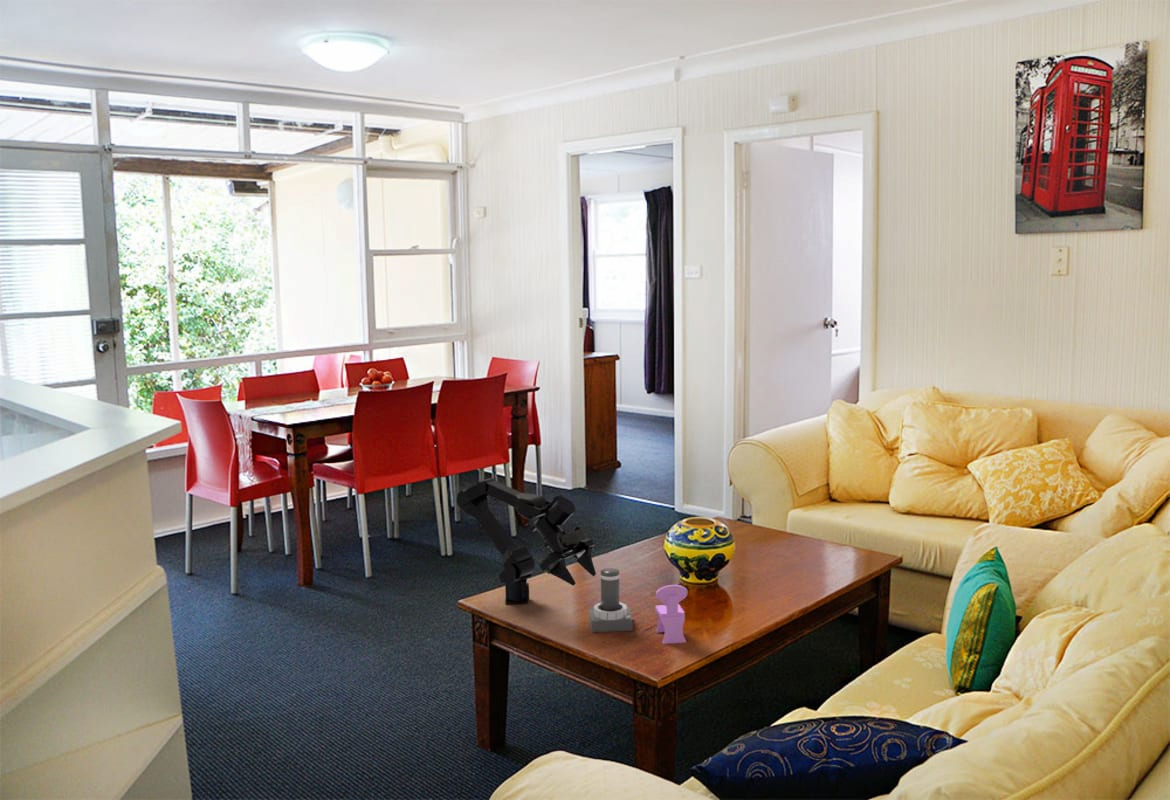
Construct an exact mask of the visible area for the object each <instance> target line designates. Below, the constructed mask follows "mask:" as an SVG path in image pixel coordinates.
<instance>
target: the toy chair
mask: <svg viewBox="0 0 1170 800" xmlns="http://www.w3.org/2000/svg"><path fill="white" fill-rule="evenodd" d="M655 595H656V596H655V597H656V599H657V600H658V601H659V602H661V603H663V604H662V605H660V604H659V605H655V609H654V610H655V613H656V615H657V619H658V622H657V625H656V626H657V627H656V630H655V633H656V634H658V633H664V635H663V640H662V645H668V644H681V643H682V644H684V643H687V640H686V638H685V635H684V631H683V627H684V623H685V619H686V615H685V613H686V612H685V611H684V609H683V608H682V606H681V605H680V604H679V603H680V602H681V601H683V600H684V599H685V598H686V597H687V596H688V589H687V588H686V587H685V586H683V585H680V584H668V585H665V586H662V587H659V589H657V590H656V592H655Z"/></svg>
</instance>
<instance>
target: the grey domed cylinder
mask: <svg viewBox="0 0 1170 800" xmlns="http://www.w3.org/2000/svg"><path fill="white" fill-rule="evenodd" d="M620 574H621V573H620V570H619V569H616V568H614V567H613V568H603V569H601V570H600V577H599V578H600V603H601V610H603V611H617V610H620V607H619V602H620Z"/></svg>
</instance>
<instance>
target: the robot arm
mask: <svg viewBox="0 0 1170 800" xmlns="http://www.w3.org/2000/svg"><path fill="white" fill-rule="evenodd" d="M456 496H457V497H456V504H457V506H458V507H459V508H460V509H461V510H462V512H463V513H464V514H466V515H468V516H469V517H471V518H474V519H475V521H476V522H477V523H478V525H479V526H480V527H481V529H482V530H483V531H484V533H485V534H486V536H487V537H488V538H489V540H490V541H491V543H492V544H493V545H494V547H495V548H496V550H498V552H499V554H500V555H501V559H502V567H503V568H504V569H503V570H502V572H500V574H499V575H498V579H499V582H500V583H501V584H504V585H505V600H504V603H505V605H511V604H512V605H513V604H514V605H515V604H528V603H529V600H530V583H529V582H528V579H530V578H532V576H533V573H534V571H535V567H536V566H535V565H536V562H535V559H534V558H533V557H534V555H533V554H531V552H530V551H529V550H528V548H527V547H526V546H525V545H523V546H520V547H519V546H517V545H516V544H515V543H514V541H513V540H512V539H511V537H510V536H509V534H508V533H507V532H506V529H504V527H503V526H502V525H501V524H500V522H499V521H498V519H497V518H496V516H495V515H494V514H493V513H492V511H491V510H490V508H489V498H488V497H492V498H493V499H496V500H498V501H500V502H502V503H503V504H506V505H508V506H510V507H513V508H514V509H515V511H516V513H517V514H518V515H520V516H521V517H523V518H524V519H526V520H532V519H535V518H537V519H536V520H534V521H531V523H530V524H531V525H530V532H535V531H537V532H538V533H539V534H540V536H541V537H542V539H543V540H544V542H545V544H544V545H543V546H544V547H545V549H547V548H549V549H550V550H551V553H548V554H547V555H546V556H545V557H544V558H543V559H542V560H541V561H540V562H539V568H540V569H539V570H541V571H542V573H544V574H545V573H547V574H548V575H552V576H555V577H556V578H559V579H561V581H564V582H566V583H567V584H569V585H571V586H575V585H576V584H577V583H576V581H575V579H574V578H573V576H572V574H571V573H570V571H569V570H568V568H567V566H566V560H567V559H568V558H571V557H574V558H576V560H575V561H576V562H577V563H578V564H579V565H580V566H581V567H582V568H583V569H584V570H585V571H586V572H587V573H588V574H590V575H591V576H592V577H595V576H596V575H597V573H596V570H595V569H596V568H595V566H594V562H593V558H592V552H593V550H594V546H595V545H596V543H594V541H593V540H592V539H591V538H587V537H586V536H587V535H588V530H587V529H586V527H585V526H584V525H583V524H581V525H578V526H576V527H574V531H572V532H569V531H568V530H567V529H564V530H563V529H562V528H561V526H563V525H564V524H565V523H567V521H568V520H569V519H570V517H572V515H573V514H575V512H576V506H575V504H574V502H573V501H571V500H570V499H569V498H566V497H563V495H562V494H558V495H555V496H554V497H553V499H552V501H551V500H547V499H546V497H544V496H543V495H540V494H534V493H525V492H521V491H519V490H517V489H514V488H512V487H510V486H507V485H506V484H504V483H501V482H500V481H496V479H495V478H487V479H483V480H480V481H479V482H477V483H476V484H474V485H472V486H471V487H469V488H467V489H463V490H460V491H458V493H457V495H456Z"/></svg>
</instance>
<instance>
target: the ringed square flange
mask: <svg viewBox="0 0 1170 800" xmlns="http://www.w3.org/2000/svg"><path fill="white" fill-rule="evenodd" d="M619 607H620V610H617V611H603V610H601V602H598V603H596V604H595V605H594V606H593V608H589V615H588V616H589V624H590V631H591V633H600V632H602V633H603V632H626V631H627V632H629V631H633V629H634V628H633V617H632V614H631V609H630V607H629V606H628V605H627V604H625V603H623V602H621V601H619Z"/></svg>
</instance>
